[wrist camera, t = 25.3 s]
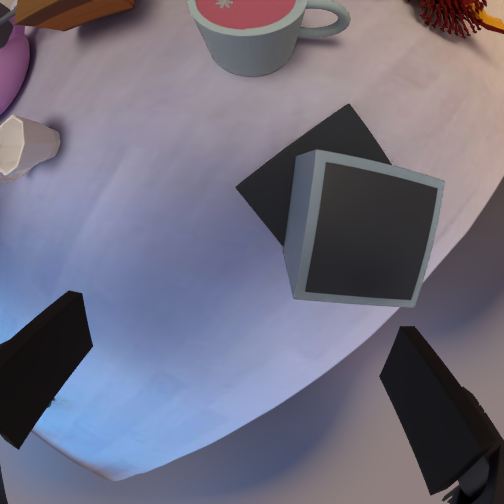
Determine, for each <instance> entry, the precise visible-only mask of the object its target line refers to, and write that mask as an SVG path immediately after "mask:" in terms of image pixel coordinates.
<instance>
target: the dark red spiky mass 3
mask: <svg viewBox="0 0 504 504" xmlns="http://www.w3.org/2000/svg"><path fill="white" fill-rule="evenodd" d="M434 1H435V2H434ZM434 1H433V0H430V1H429V2H428V0H427V2H428V4H427V5H426V11H425V12H424V13H423V14H422V15H420V16H421V18H422V19H424V18H425V16H426V14H427V12H428V10H429V12H430V10H431V8H430V7H431V5H432V11H431V14H430V16H429V17H428V18H427V19H428V20H427V21H426V22H425V24H426V25H427V26H428V25H429V23H430V22H431V21H432V18H433V14H434V11H435V9H436V17H437V18H436V21H435V22H434V24H433V25H432V27H433V28H434V29H435V26H436V25H438V26H440V22H441V12H442V16H443V20H444V23H443V26H442V28H440V29H441V31H442V32H445V31H444V28H446V29H447V28H448V27H447V23H448V20H449V24H450V26H449V29H448V31H447V32H448V33H449V34H451V28H452V30H455V33H454V34H455V35H457V36H458V33H457V30H458V29H459V30H458V32H459V33H461V34H462V36H461V37H462V38H466V37H465V36H464V33H463V30H462V28H461V26H460V24H459V22H458V20H459V21H460V22H461V23H462V24H463V26H464V28H463V29H464V30H465V31H466V32H467V34H466V35H467V36H471V35H470V34H469V32H468V29H467V27H466V26H465V23H464V21H463V19H465V20H466V21H468V22H469V24H470V25H471V26H470V27H471V28H472V30H473V31H472V32H473V33H477V31H475V29H474V28H475V26H473V25H472V23H473V24H474V23H475V25H476V26H477V30H481V28H479V25H481V26H482V27H484V28H485V29H487V30H491V31H494V32H498V33H502V34H504V24H503V22H502V20H501V19H498V18H494V17H491V16H489V15H487V14H486V12H485V11H484V10H483V8H484V5H485V6H486V7H487V3H486V0H482V2H483V3H482V2H479V0H434ZM409 2H410V0H409ZM427 2H426V0H422V1H421V2H420V3H419V5H420V7H421V8H422V10H423V9H424V7H423V5H424V4H425V3H427ZM436 4H437V5H436ZM483 4H484V5H483ZM441 8H443V9H442V10H441ZM459 9H460V10H459ZM464 12H465V13H464ZM449 14H450V16H451V18H452V21H451V20H450V16H449ZM462 14H463V15H462ZM464 15H465V16H466V18H467V19H468V20H467V19H466V18H465V17H464ZM445 17H446V19H445ZM469 18H470V19H471V21H472V23H471V21H470V20H469ZM457 19H458V20H457ZM454 23H455V28H454ZM457 24H458V29H457Z"/></svg>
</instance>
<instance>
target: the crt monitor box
mask: <svg viewBox="0 0 504 504" xmlns="http://www.w3.org/2000/svg"><path fill="white" fill-rule="evenodd" d="M444 182H445V181H444V180H441V179H438V178H434V177H431V176H428V175H425V174H421V173H418V172H414V171H411V170H407V169H404V168H400V167H396V166H393V165H389V164H385V163H381V162H376V161H372V160H368V159H364V158H359V157H354V156H350V155H345V154H340V153H334V152H329V151H324V150H318V149H317V150H313V151H310V152H307V153H304V154H301V155H298V156H296V157H295V165H294V174H293V181H292V189H291V197H290V205H289V212H288V219H287V226H286V233H285V240H284V247H283V254H284V258H285V262H286V267H287V272H288V276H289V281H290V285H291V290H292V295H293V299H299V300H310V301H322V302H334V303H347V304H360V305H376V306H393V307H414V306H415V304H416V301H417V297H418V295H419V292H420V289H421V285H422V282H423V279H424V276H425V272H426V269H427V265H428V261H429V258H430V254H431V250H432V246H433V242H434V237H435V233H436V228H437V224H438V219H439V213H440V208H441V202H442V196H443V190H444Z"/></svg>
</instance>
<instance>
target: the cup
mask: <svg viewBox="0 0 504 504" xmlns="http://www.w3.org/2000/svg"><path fill="white" fill-rule="evenodd" d="M60 144H61V143H60V136H59V132H58V131H56V130H54V129H53V128H50V129H49V128H47V127H46V126H44V125H42V124H40V123H38V122H35V121H32V120H28V119H25V118H22V117H19V116H15V115H11V116H10V117H9V118H8V119H7V120H6V121H5V122H4V123H3V124H2V125H1V126H0V181H1V182H5V183H8V182H13V181H15V180H17V179H19V178H20V177H22V176H23V175H24V174H26V173H27V172H28V171H29V170H30V169H32V168H33V167H34V166H35V165H36V164H38V163H41V162H43V161H44V160H46V161H48V160H50V159H51V158H53V157H55V156H56V154H57V152H58V149H59V147H60ZM20 170H21V171H20ZM18 171H20V172H18ZM15 172H18V173H17V174H15V175H13V176H11V177H1V174H2V173H3V174H4V175H5V176H7V175H10V174H12V173H15Z"/></svg>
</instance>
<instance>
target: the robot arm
mask: <svg viewBox="0 0 504 504" xmlns="http://www.w3.org/2000/svg"><path fill="white" fill-rule="evenodd" d="M92 347H93V344H92V340H91V335H90V331H89V326H88V322H87V317H86V312H85V307H84V301H83V295H82V293H78V292H74V291H68V292H66V293H65V294H64V295H62V296H61V297H60V298H59V299H57V300H56V301H55V302H54V303H52V304H51V305H50V306H49V307H47V308H46V309H45V310H44V311H43V312H41V313H40V314H39V315H38V316H37V317H35V318H34V319H33V320H32V321H31V322H29V323H28V324H27V325H26V326H25V327H24V328H23V329H21V330H20V331H19V332H18V333H17V334H16V335H15V336H13V337H12V338H11V339H10V340H8V341H6V342H4V343H2V344H0V434H1V436H2V437H3V438H4V439H5V440H6V441H7V442H9V443H10V444H11V445H13V446H14V447H15V448H17V449H18V450H19V449H20V447H21V445H22V444H23V442H24V440H25V439H26V438H27V436H28V435H29V433H30V432H31V430H32V429H33V427H34V426H35V424H36V423H37V421H38V420H39V418H40V417H41V415H42V414H43V412H44V411H45V410H46V408H47V407H48V405H49V404H50V403H51V401H52V400H53V398H54V397H55V396H56V394H57V393H58V391H59V390H60V389H61V387H62V386H63V385H64V383H65V382H66V381H67V379H68V378H69V377H70V375H71V374H72V373H73V371H74V370H75V369H76V368H77V366H78V365H79V364H80V362H81V361H82V360H83V359H84V357H85V356H86V355H87V353H88V352H89V351H90V350H91V348H92ZM379 377H380V379H381V381H382V383H383V385H384V387H385V389H386V392H387V394H388V396H389V397H390V400H391V402H392V404H393V406H394V409H395V411H396V413H397V415H398V417H399V419H400V422H401V424H402V426H403V428H404V431H405V433H406V435H407V438H408V440H409V443H410V445H411V447H412V449H413V452H414V454H415V457H416V459H417V462H418V464H419V467H420V469H421V472H422V474H423V477H424V480H425V482H426V485H427V487H428V490H429V493H430V495H433V494H436V493H438V492H440V491H443V490H445V489H447V488H448V487H450V486H451V485H452V484H453V483H454V482H455V481H457V480H458V481H459V485H458V486H457V487H455V488H454V489H453V490H452V491H450V492H449V493H448V494H447V495H445V496H444V498H443V499H442V501H445V500H446V499H448V498H449V497H451V496H452V495H453V496H452V498H451V499H449V501H448V503H450V504H504V440H503V438H502V437H501V436H500V434H499V432H498V431H497V429H496V428H495V426H494V424H493V423H492V421H491V420H490V418H489V417H488V415H487V414H486V413H484V410H483V408H482V407H481V405H479V402H478V401H477V399H476V398H475V397H474V396H473V394H472V393H471V392H469V391H468V390H467V389H465V388H464V387H461V386H460V384H459V383H458V381H457V380H456V379H455V377H454V376H453V375H452V373H451V372H450V371H449V369H448V368H447V367H446V365H445V364H444V363H443V361H442V360H441V359H440V358H439V356H438V355H437V354H436V352H435V351H434V350H433V349H432V347H431V346H430V345H429V344H428V343H427V341H426V340H425V339H424V338H423V336H422V335H421V334H420V332H419V331H418V330H417V329H416V328H415V326H405V327H404V326H400V328H399V331H398V334H397V336H396V339H395V341H394V344H393V346H392V349H391V351H390V354H389V356H388V358H387V360H386V363H385V365H384V368H383V370H382V372H381V374H380V376H379ZM0 504H8V502H7V498H6V494H5V489H4V484H3V479H2V473H1V467H0Z"/></svg>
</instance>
